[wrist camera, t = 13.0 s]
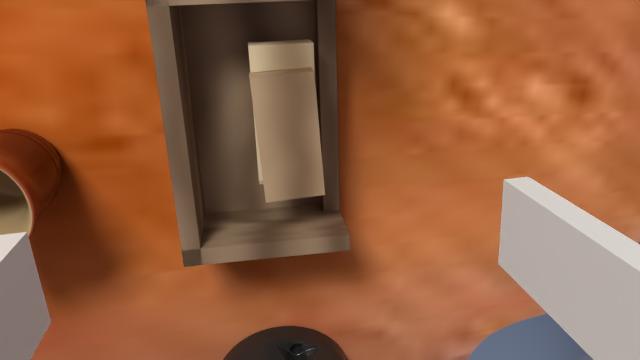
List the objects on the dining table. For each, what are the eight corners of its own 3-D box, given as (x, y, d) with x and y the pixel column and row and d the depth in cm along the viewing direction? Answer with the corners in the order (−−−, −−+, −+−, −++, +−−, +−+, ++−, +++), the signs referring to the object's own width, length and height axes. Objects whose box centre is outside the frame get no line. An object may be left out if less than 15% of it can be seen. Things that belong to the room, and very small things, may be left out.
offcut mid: (257, 170, 46) (258, 180, 44) (247, 42, 42) (248, 45, 40) (314, 166, 47) (318, 176, 45) (309, 39, 43) (313, 42, 41)
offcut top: (264, 191, 44) (266, 202, 42) (248, 72, 41) (249, 78, 38) (320, 184, 45) (325, 194, 43) (310, 66, 41) (314, 71, 39)
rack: (192, 224, 51) (184, 266, 44) (159, -18, 43) (143, -17, 36) (334, 212, 53) (350, 250, 45) (329, -24, 45) (346, -24, 37)
